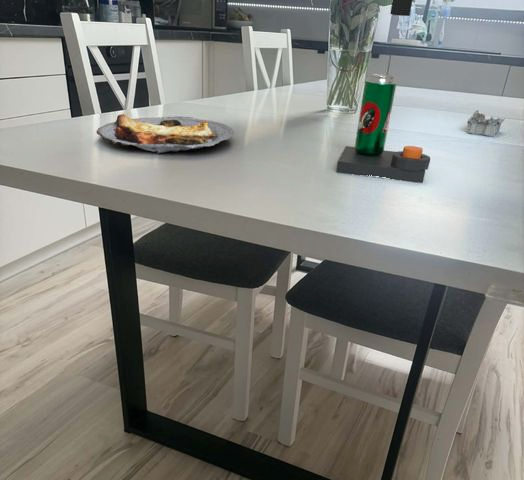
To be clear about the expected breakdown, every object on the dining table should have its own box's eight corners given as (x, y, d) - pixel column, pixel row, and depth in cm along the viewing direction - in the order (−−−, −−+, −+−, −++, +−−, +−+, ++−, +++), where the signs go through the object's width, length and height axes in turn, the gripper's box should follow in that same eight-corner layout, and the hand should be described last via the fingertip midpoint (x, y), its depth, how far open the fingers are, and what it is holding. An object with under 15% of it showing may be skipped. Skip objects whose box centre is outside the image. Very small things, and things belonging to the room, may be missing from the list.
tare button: (420, 157, 79) (422, 147, 78) (420, 161, 76) (423, 151, 76) (401, 154, 79) (403, 144, 78) (401, 159, 77) (403, 148, 76)
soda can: (385, 157, 82) (401, 77, 75) (356, 156, 82) (369, 75, 75) (379, 150, 86) (393, 74, 79) (351, 149, 86) (363, 72, 79)
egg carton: (472, 127, 124) (477, 109, 121) (502, 131, 120) (508, 113, 118) (461, 132, 116) (466, 113, 114) (493, 137, 113) (499, 118, 111)
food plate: (83, 153, 81) (80, 131, 79) (114, 126, 100) (112, 107, 98) (232, 161, 82) (233, 139, 80) (234, 132, 101) (235, 114, 99)
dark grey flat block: (423, 166, 87) (428, 145, 85) (425, 184, 77) (430, 162, 75) (344, 156, 89) (347, 136, 87) (335, 173, 79) (338, 151, 77)
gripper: (477, -231, 50) (428, 15, 63) (458, -159, 70) (423, 17, 83) (405, -228, 52) (370, 12, 64) (405, -159, 72) (379, 14, 84)
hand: (400, 15), depth 73 cm, fingers open, 13 cm apart
